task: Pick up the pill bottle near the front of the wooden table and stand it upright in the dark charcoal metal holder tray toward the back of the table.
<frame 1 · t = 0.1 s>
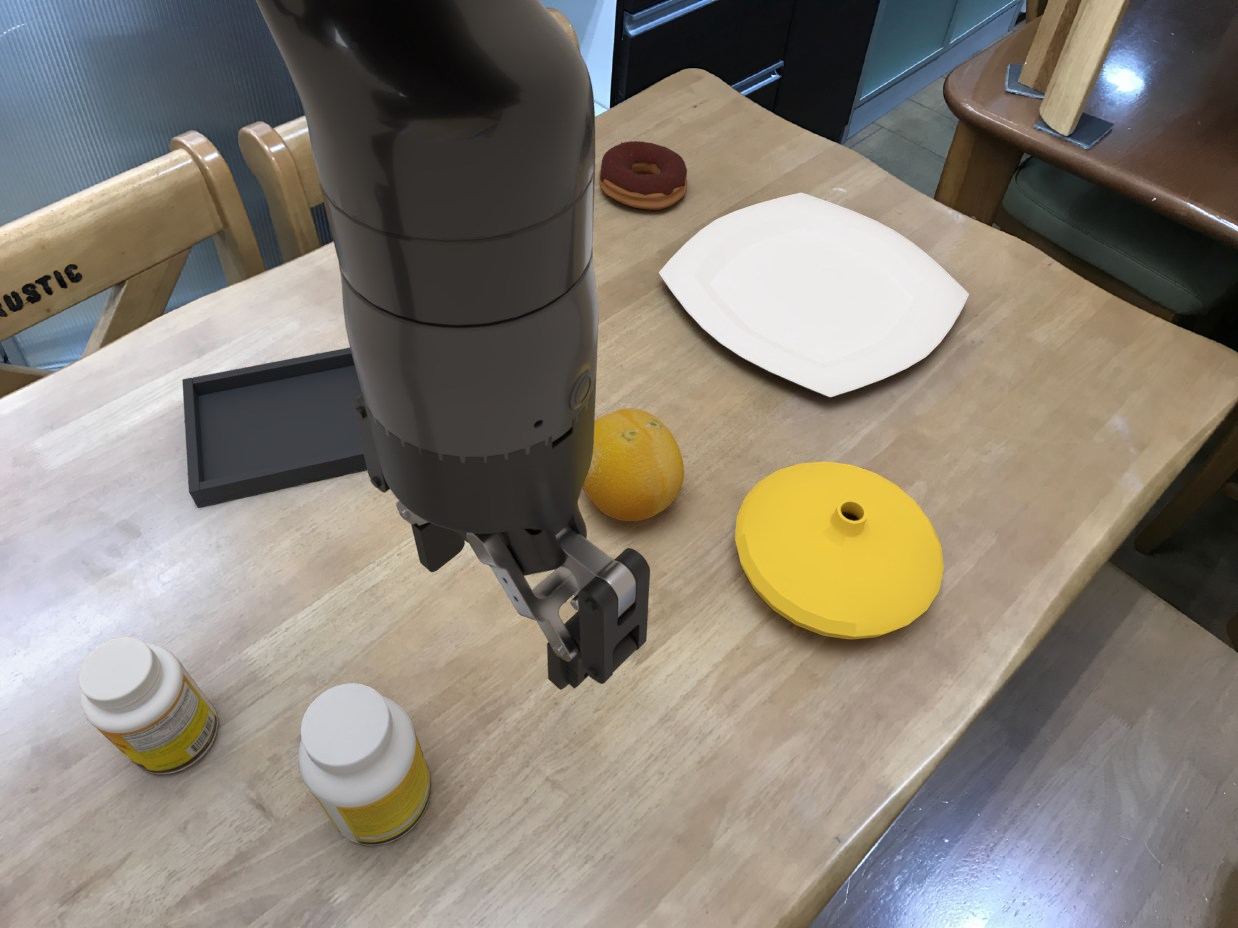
hand: (505, 612, 41), 22 cm above the table, tool pointing down, fingers open, 8 cm apart
supplement bottle: (177, 737, 58), on the table
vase: (828, 565, 69), on the table
fruit: (626, 496, 73), on the table
pill bottle: (381, 796, 57), on the table
plate: (809, 299, 89), on the table
holder: (290, 428, 75), on the table
donut: (642, 191, 100), on the table
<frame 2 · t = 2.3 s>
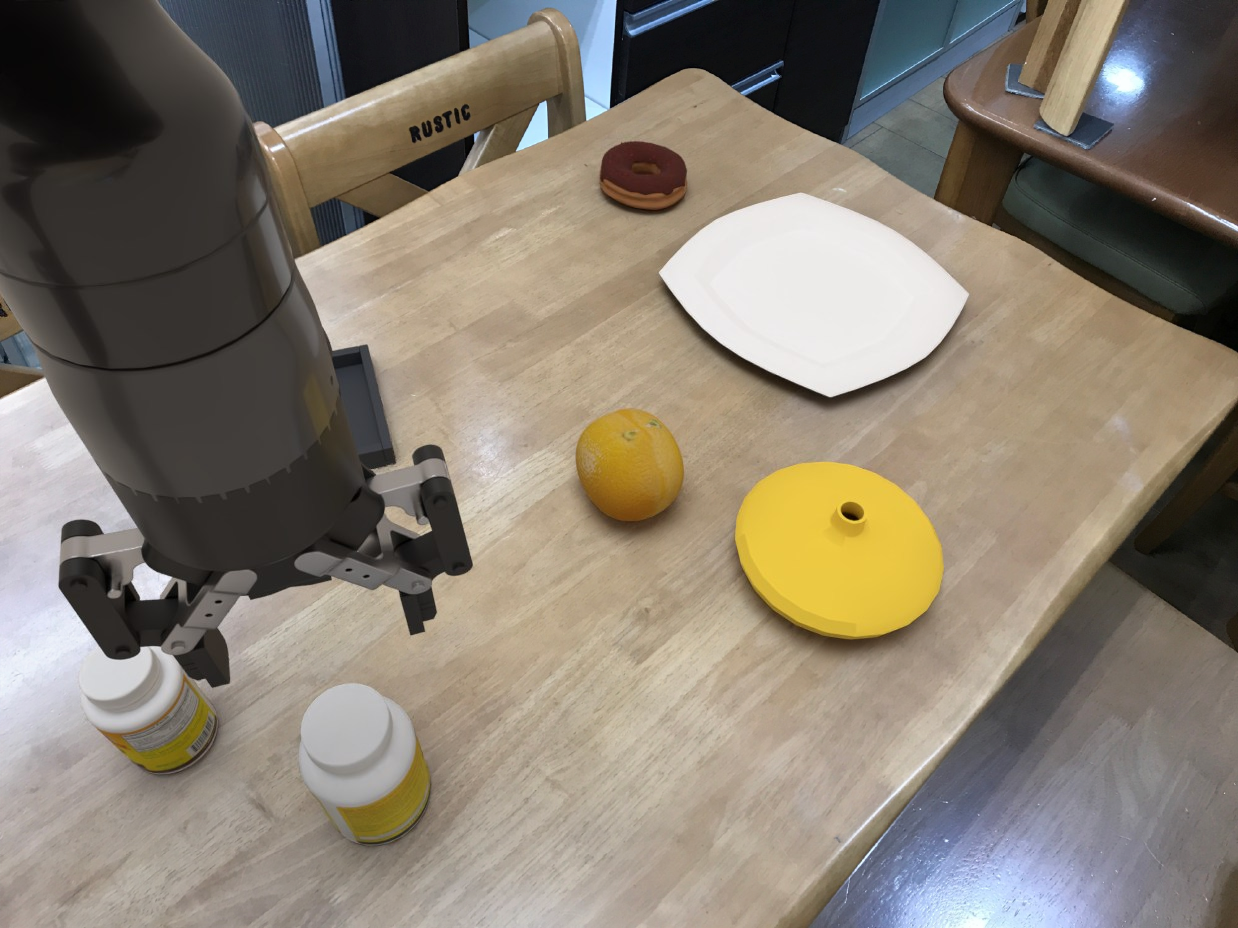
hand: (320, 641, 40), 21 cm above the table, tool pointing down, fingers open, 8 cm apart
nothing on the table moved.
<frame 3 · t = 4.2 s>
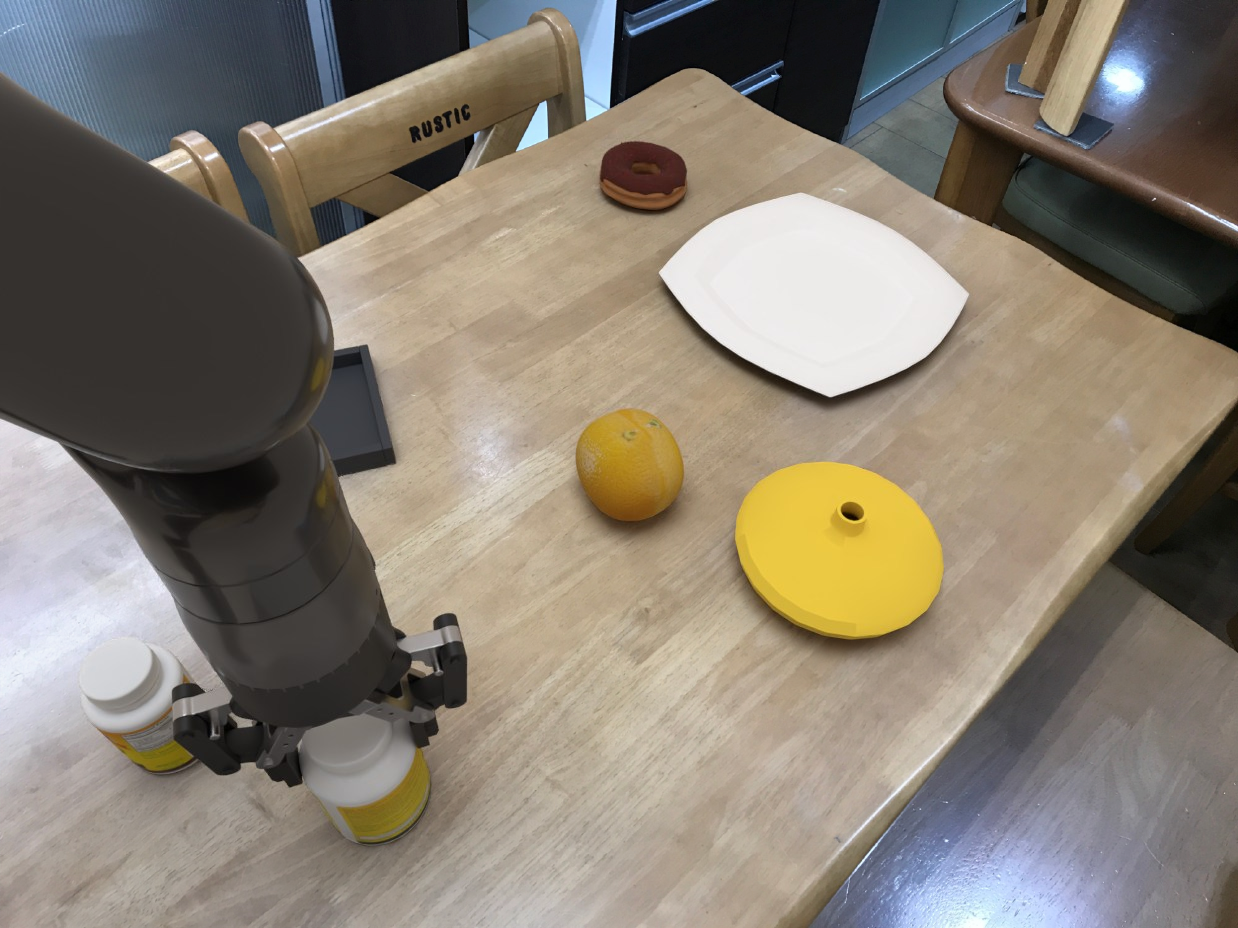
hand: (359, 749, 50), 8 cm above the table, tool pointing down, fingers closed on pill bottle, 6 cm apart
pill bottle: (381, 796, 57), on the table, touching gripper
everything else where it was.
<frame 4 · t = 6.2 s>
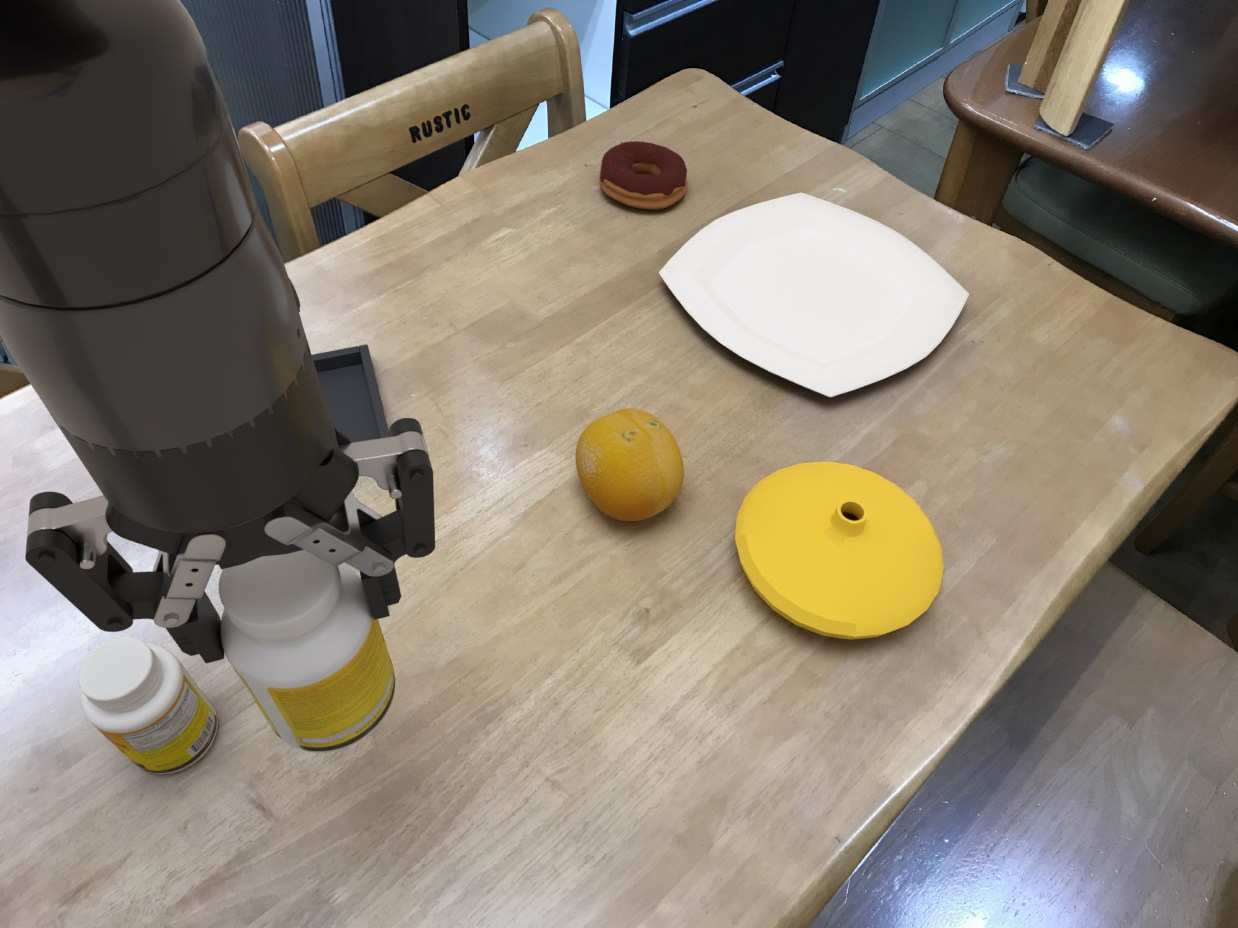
hand: (299, 621, 39), 22 cm above the table, tool pointing down, fingers closed on pill bottle, 6 cm apart
pill bottle: (333, 697, 46), point 14 cm above the table, touching gripper
everything else where it was.
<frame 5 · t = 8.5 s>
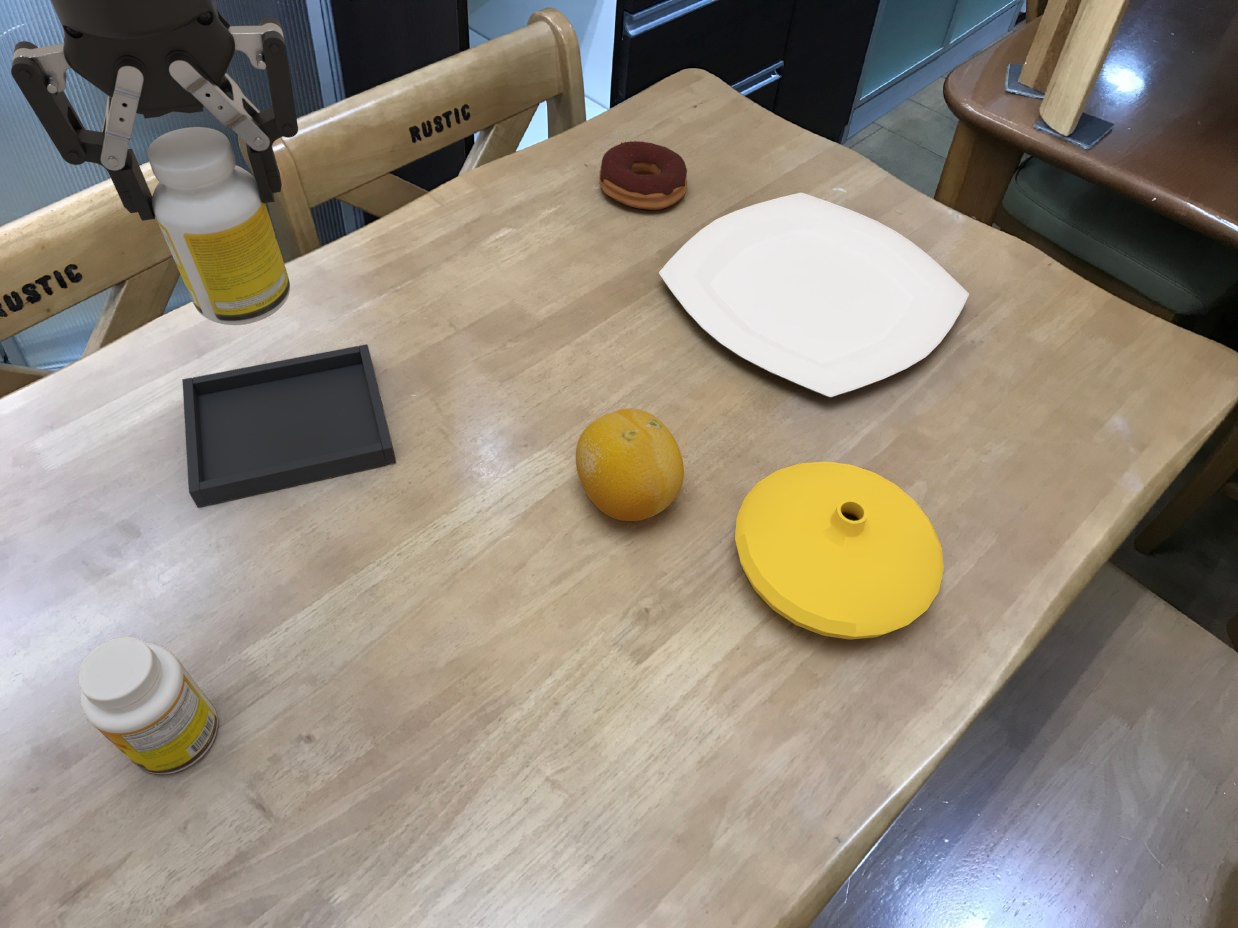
hand: (209, 203, 56), 24 cm above the table, tool pointing down, fingers closed on pill bottle, 6 cm apart
pill bottle: (245, 300, 62), point 16 cm above the table, touching gripper
everything else where it was.
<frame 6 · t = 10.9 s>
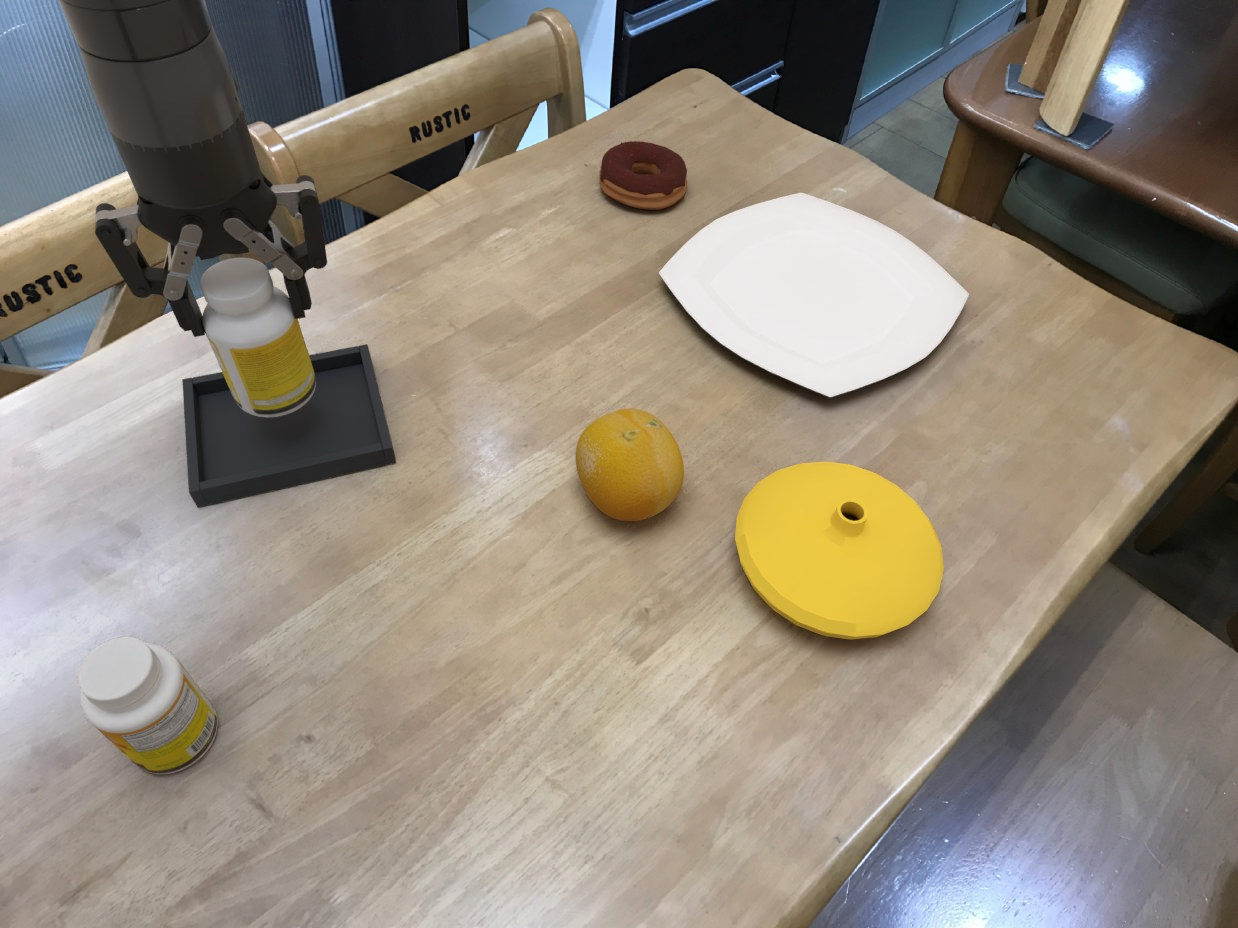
hand: (250, 319, 65), 12 cm above the table, tool pointing down, fingers closed on pill bottle, 6 cm apart
pill bottle: (277, 393, 72), point 5 cm above the table, touching gripper
everything else where it was.
when the fingers open (8 cm above the table, at t = 12.6 s): pill bottle stays where it is, resting on holder.
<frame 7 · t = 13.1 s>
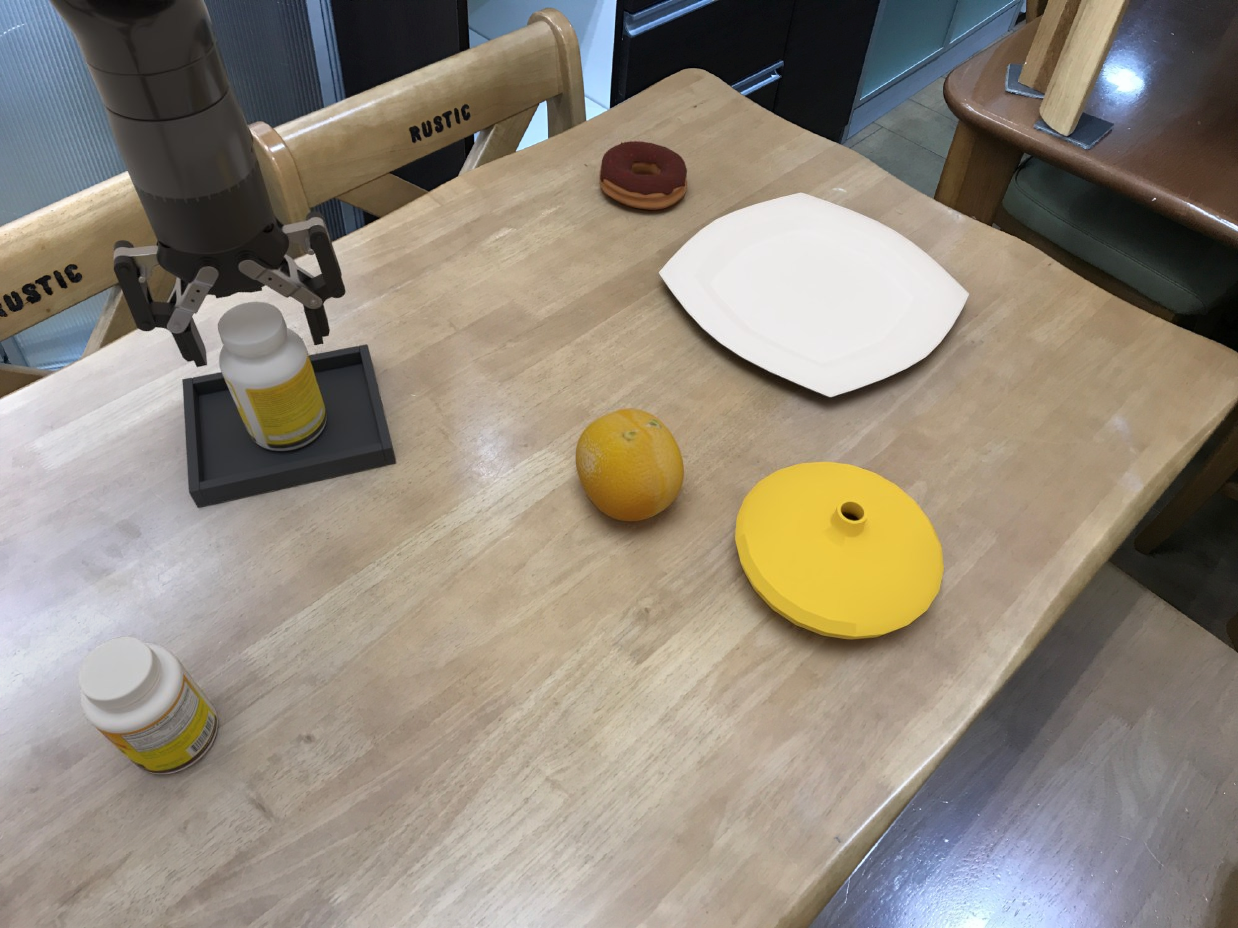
hand: (261, 348, 68), 9 cm above the table, tool pointing down, fingers open, 8 cm apart
pill bottle: (289, 427, 75), resting on holder
everything else where it was.
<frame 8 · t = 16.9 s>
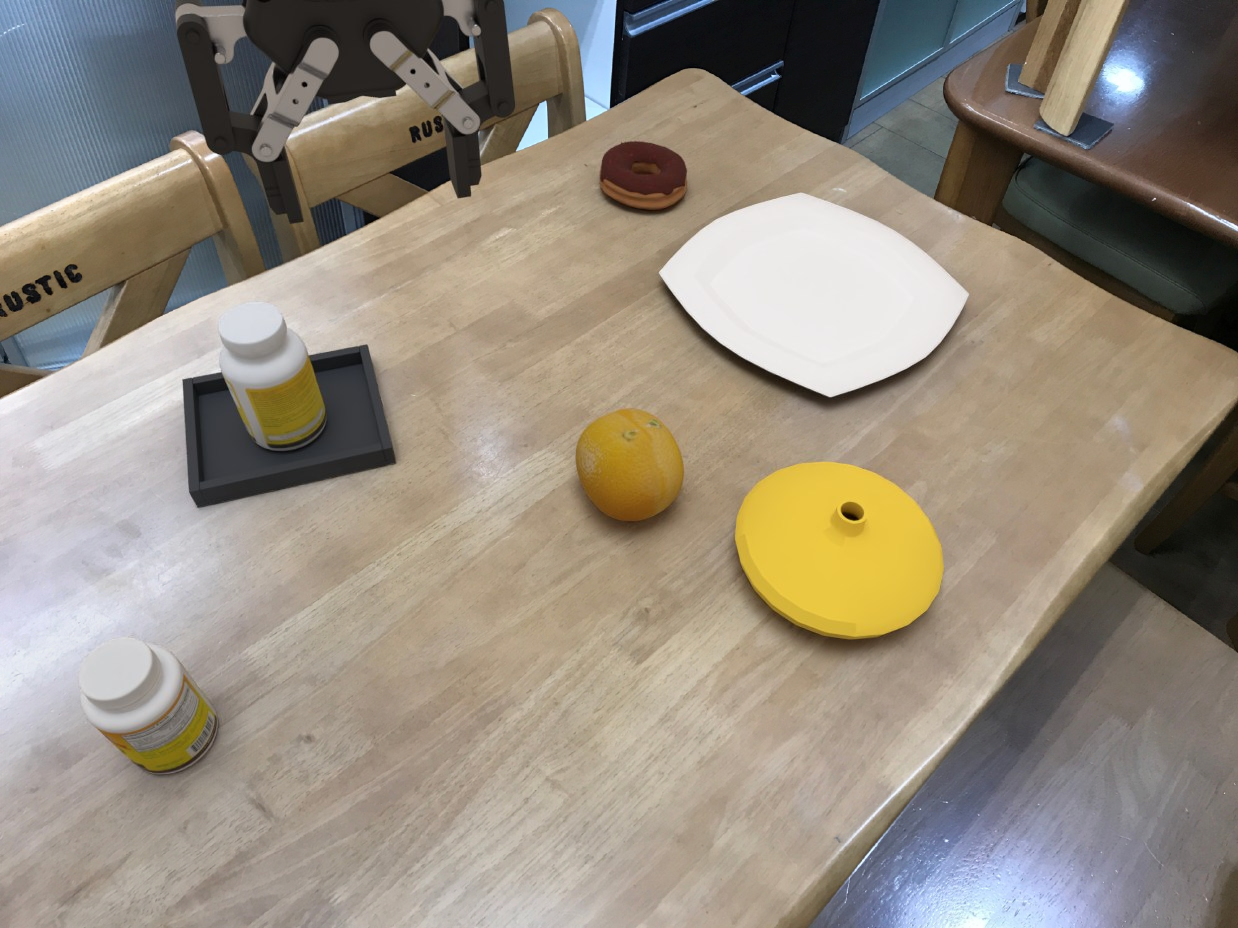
hand: (380, 201, 46), 30 cm above the table, tool pointing down, fingers open, 8 cm apart
nothing on the table moved.
at the end: pill bottle inside the target area in the holder (0.1 cm from its centre), point 0.4 cm above the holder's base; pill bottle tilted 0°; the gripper is holding nothing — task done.
